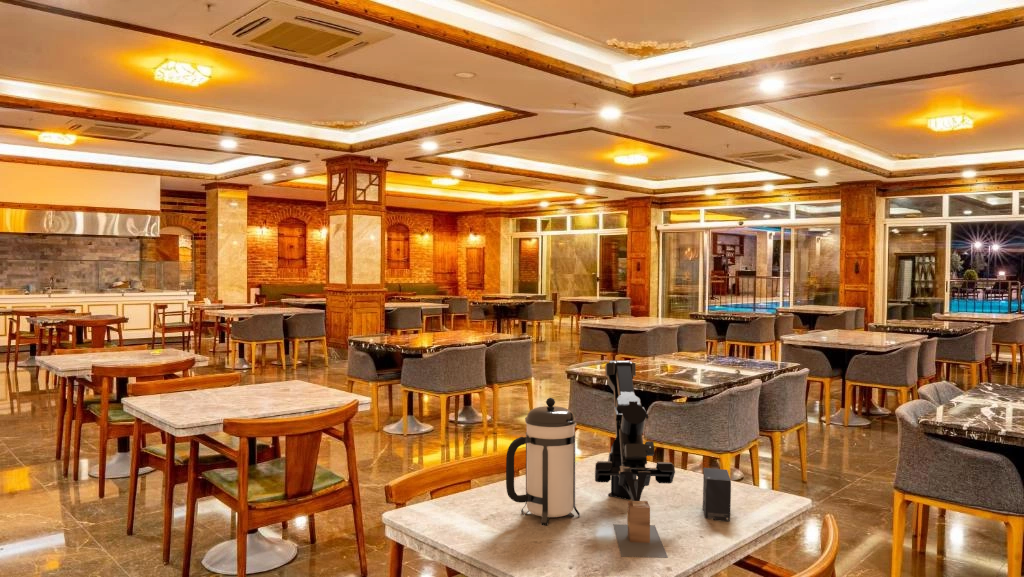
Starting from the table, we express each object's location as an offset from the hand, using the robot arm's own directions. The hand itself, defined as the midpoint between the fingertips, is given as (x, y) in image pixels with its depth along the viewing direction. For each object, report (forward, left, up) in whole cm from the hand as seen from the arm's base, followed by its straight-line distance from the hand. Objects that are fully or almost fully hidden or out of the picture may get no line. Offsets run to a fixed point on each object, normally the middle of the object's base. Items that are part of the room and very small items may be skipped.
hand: (637, 505), depth 166 cm
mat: (+2, -3, -7) cm, 8 cm away
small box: (+10, +25, -7) cm, 28 cm away
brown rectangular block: (+2, -3, -7) cm, 7 cm away
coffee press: (-24, -2, -7) cm, 25 cm away
